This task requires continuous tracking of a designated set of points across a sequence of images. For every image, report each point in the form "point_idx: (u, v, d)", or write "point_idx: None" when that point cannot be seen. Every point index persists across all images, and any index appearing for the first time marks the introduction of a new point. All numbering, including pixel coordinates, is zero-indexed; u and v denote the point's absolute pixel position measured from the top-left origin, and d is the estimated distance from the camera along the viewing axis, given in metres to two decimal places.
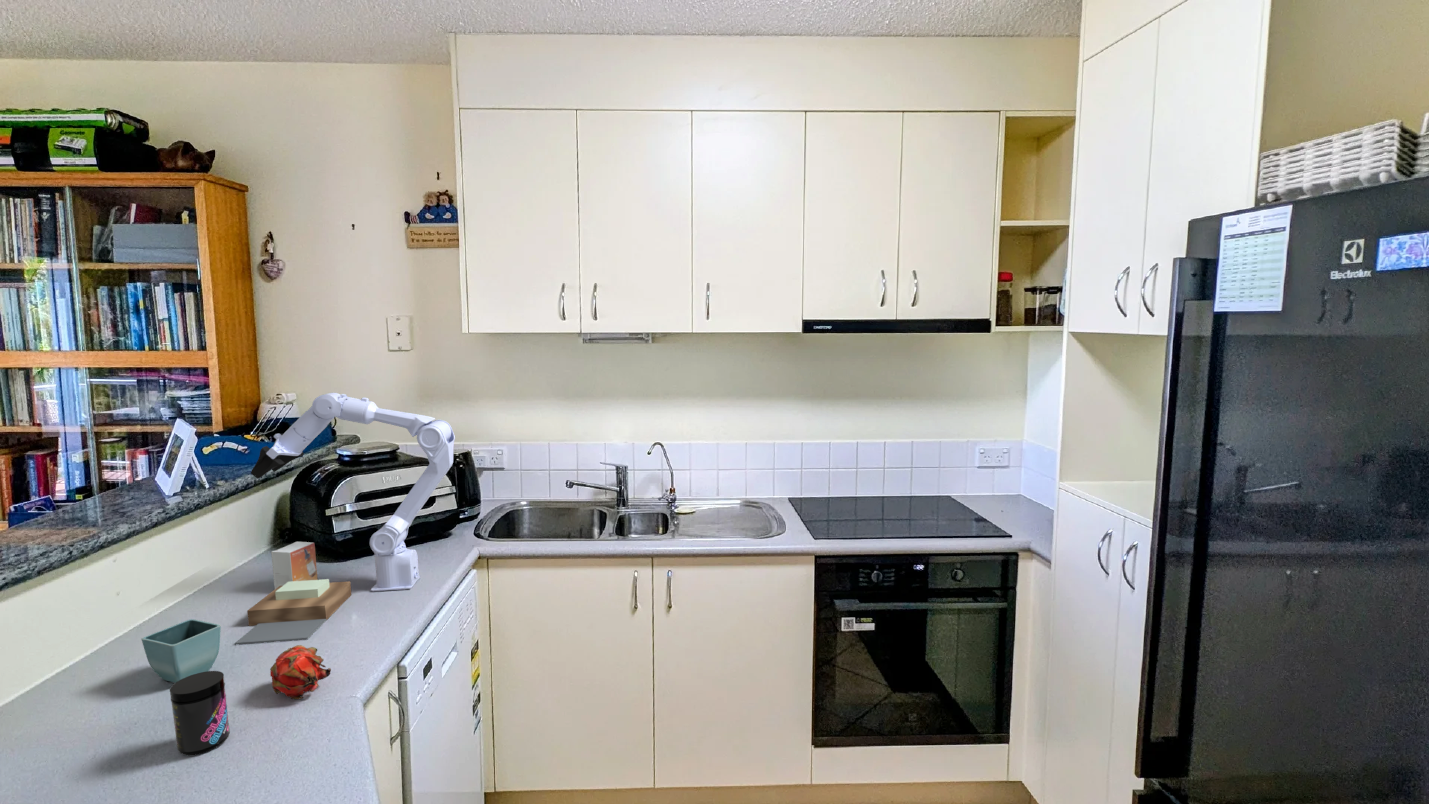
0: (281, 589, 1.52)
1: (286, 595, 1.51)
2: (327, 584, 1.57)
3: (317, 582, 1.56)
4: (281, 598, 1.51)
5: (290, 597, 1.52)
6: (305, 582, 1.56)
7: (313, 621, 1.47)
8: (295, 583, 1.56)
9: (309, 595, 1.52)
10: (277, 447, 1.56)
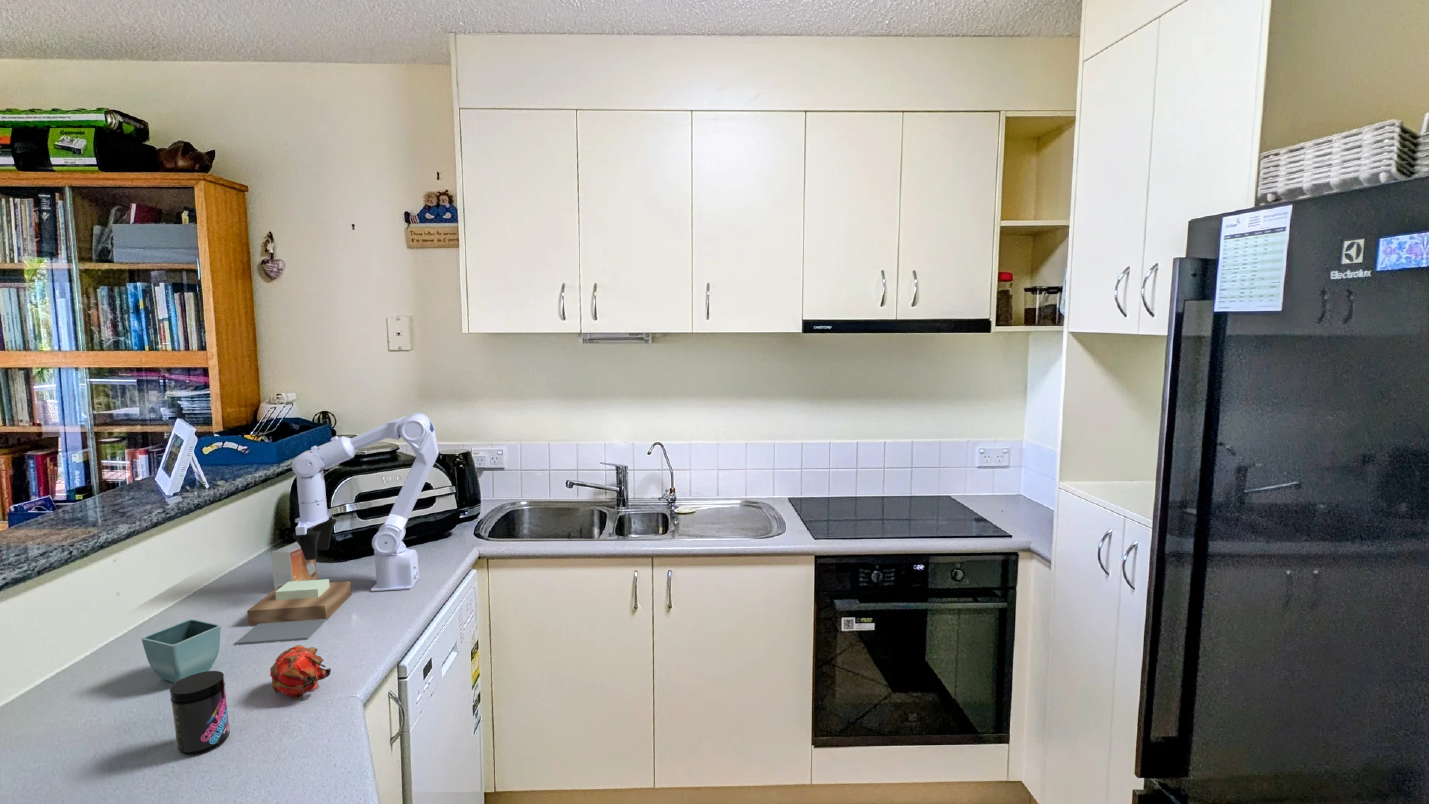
0: (281, 589, 1.52)
1: (286, 595, 1.51)
2: (327, 584, 1.57)
3: (317, 582, 1.56)
4: (281, 598, 1.51)
5: (290, 597, 1.52)
6: (305, 582, 1.56)
7: (313, 621, 1.47)
8: (295, 583, 1.56)
9: (309, 595, 1.52)
10: (302, 525, 1.56)
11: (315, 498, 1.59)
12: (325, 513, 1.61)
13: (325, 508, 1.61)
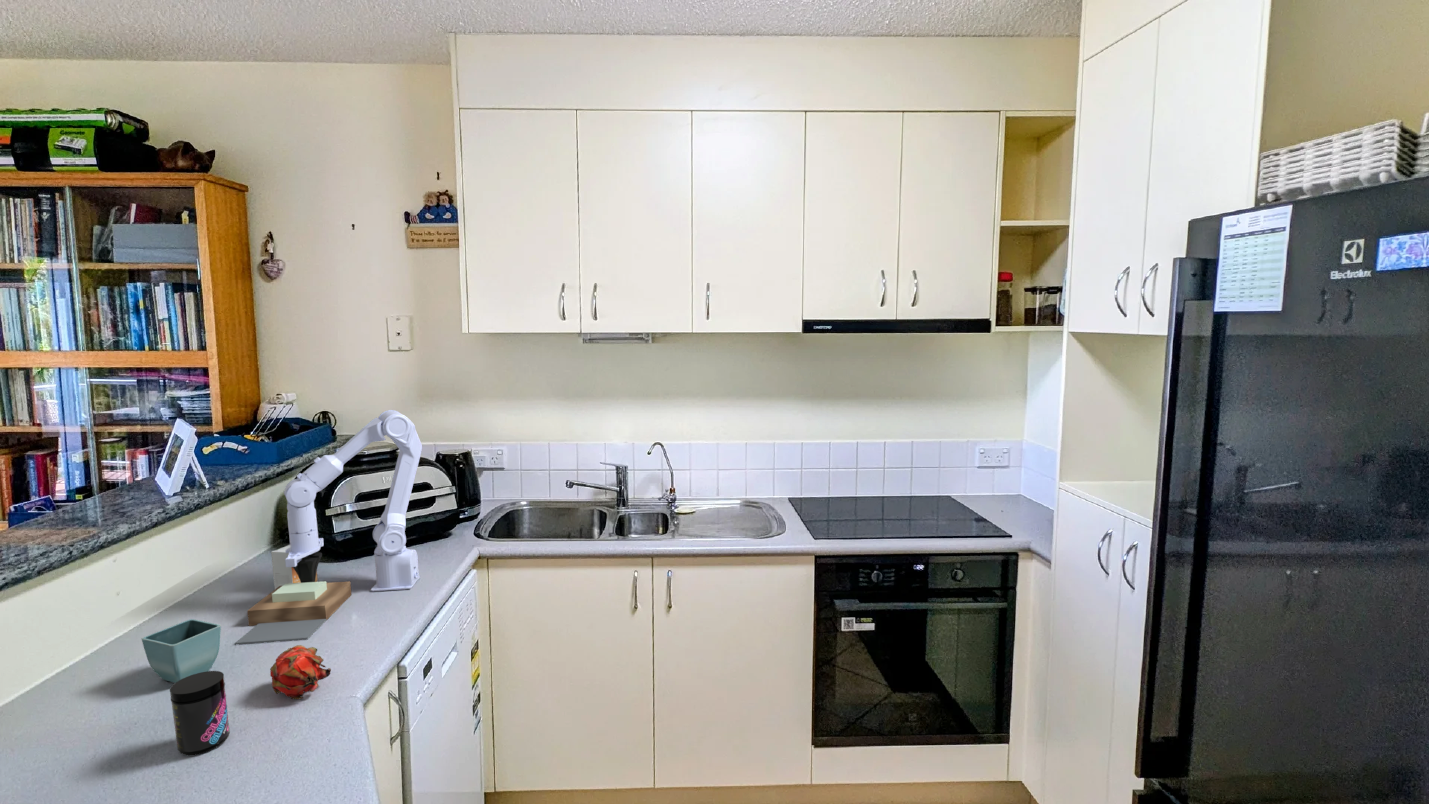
0: (278, 591, 1.51)
1: (283, 598, 1.50)
2: (324, 586, 1.56)
3: (314, 584, 1.55)
4: (278, 600, 1.50)
5: (287, 599, 1.50)
6: (302, 584, 1.55)
7: (313, 621, 1.47)
8: (292, 585, 1.55)
9: (306, 597, 1.51)
10: (292, 556, 1.51)
11: (310, 527, 1.54)
12: (316, 543, 1.56)
13: (316, 538, 1.56)
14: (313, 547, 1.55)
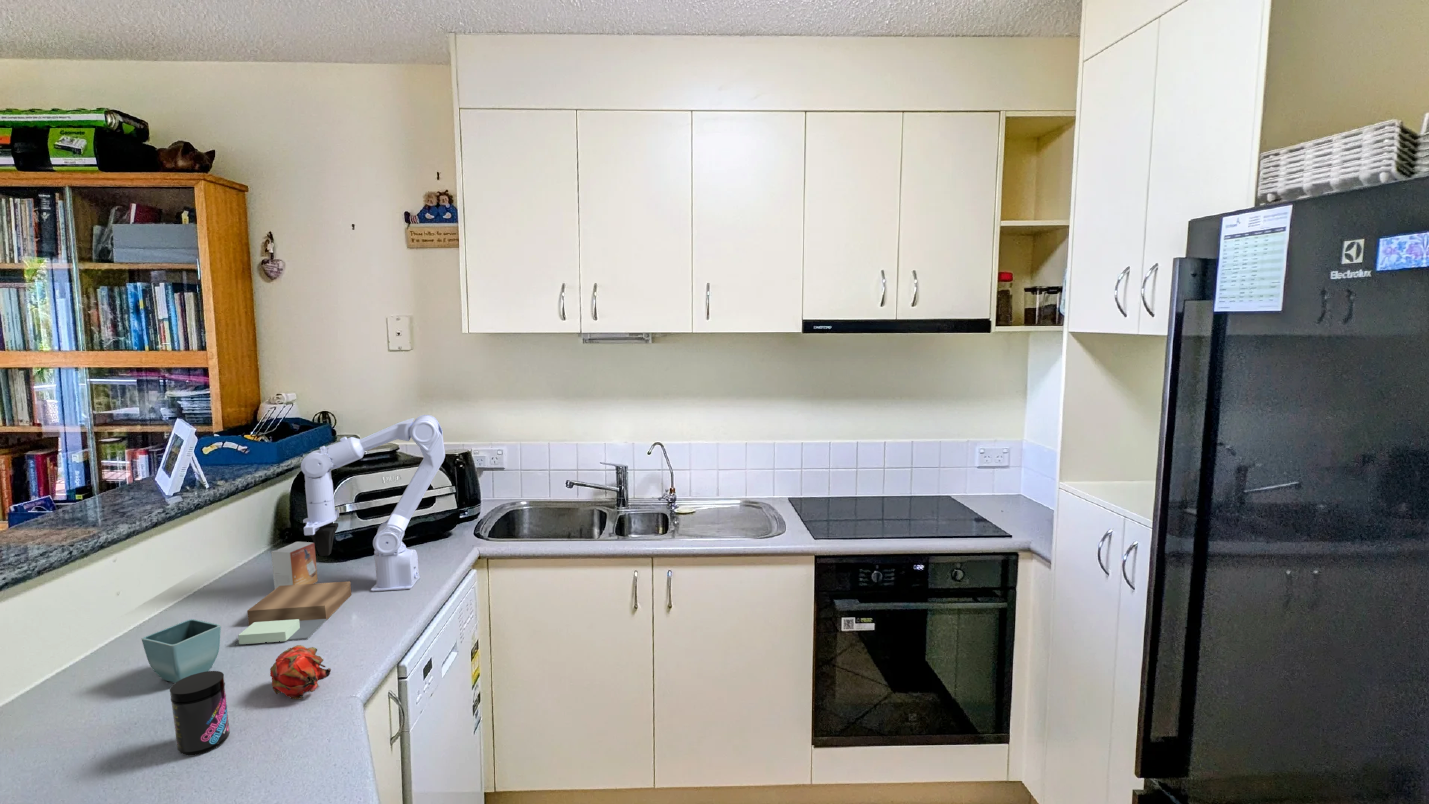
0: None
1: None
2: (288, 634, 1.39)
3: None
4: None
5: None
6: None
7: (313, 621, 1.47)
8: None
9: None
10: (310, 525, 1.56)
11: (324, 498, 1.58)
12: (333, 513, 1.61)
13: (333, 508, 1.61)
14: (330, 517, 1.60)
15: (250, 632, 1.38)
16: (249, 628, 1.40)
